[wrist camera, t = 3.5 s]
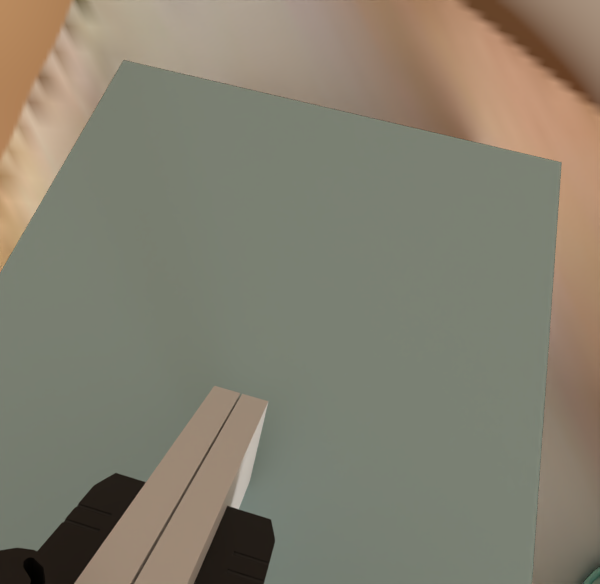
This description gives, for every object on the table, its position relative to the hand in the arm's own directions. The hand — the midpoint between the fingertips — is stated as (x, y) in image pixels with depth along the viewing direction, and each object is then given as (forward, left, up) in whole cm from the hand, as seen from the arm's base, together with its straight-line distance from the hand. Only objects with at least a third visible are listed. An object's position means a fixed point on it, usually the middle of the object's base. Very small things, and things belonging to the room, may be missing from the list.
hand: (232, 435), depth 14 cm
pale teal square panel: (0, +2, -4) cm, 5 cm away
